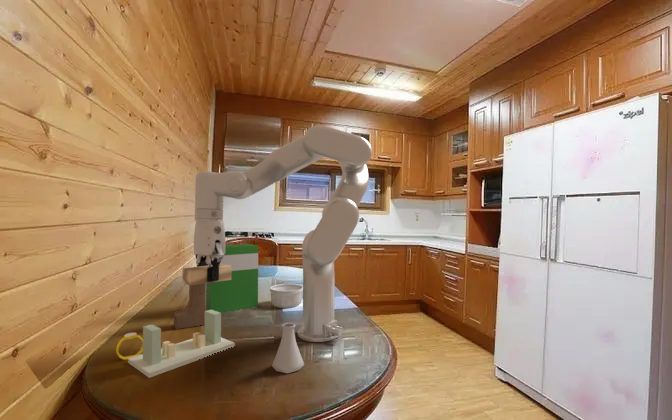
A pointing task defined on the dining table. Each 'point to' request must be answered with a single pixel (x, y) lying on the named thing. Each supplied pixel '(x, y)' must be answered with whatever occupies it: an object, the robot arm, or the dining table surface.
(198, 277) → the tan wooden bar
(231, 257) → the green cereal box
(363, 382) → the dining table surface
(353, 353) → the dining table surface
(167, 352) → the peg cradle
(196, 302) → the wooden block
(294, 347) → the flask
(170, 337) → the dining table surface
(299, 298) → the ramekin
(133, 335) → the watch
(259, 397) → the dining table surface
